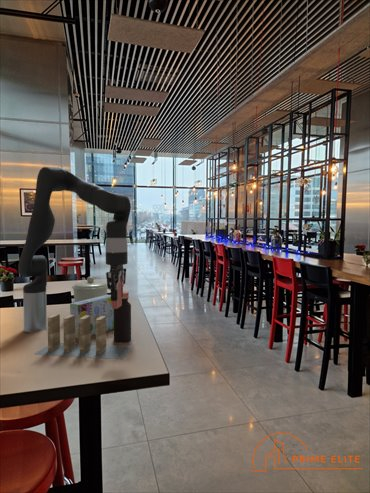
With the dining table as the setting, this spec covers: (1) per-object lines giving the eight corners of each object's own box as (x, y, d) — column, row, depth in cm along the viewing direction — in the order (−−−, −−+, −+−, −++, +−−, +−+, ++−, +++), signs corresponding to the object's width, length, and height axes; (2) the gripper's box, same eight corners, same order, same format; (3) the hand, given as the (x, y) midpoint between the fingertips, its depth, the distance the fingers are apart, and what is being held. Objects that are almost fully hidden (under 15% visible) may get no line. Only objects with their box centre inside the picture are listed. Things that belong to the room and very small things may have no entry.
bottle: (123, 346, 119) (122, 294, 118) (110, 343, 123) (109, 292, 122) (134, 341, 125) (134, 291, 124) (121, 338, 128) (121, 290, 128)
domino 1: (48, 350, 112) (47, 317, 111) (55, 345, 117) (55, 314, 116) (52, 351, 112) (52, 317, 111) (60, 346, 117) (59, 314, 116)
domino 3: (79, 352, 110) (79, 319, 110) (86, 347, 115) (85, 315, 115) (84, 352, 110) (84, 319, 110) (90, 347, 115) (90, 315, 115)
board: (34, 356, 109) (34, 354, 109) (53, 344, 121) (53, 342, 121) (122, 362, 105) (122, 359, 105) (133, 349, 116) (133, 346, 116)
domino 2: (63, 351, 111) (63, 318, 111) (70, 346, 116) (70, 314, 116) (68, 352, 111) (68, 318, 110) (75, 347, 116) (74, 314, 115)
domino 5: (111, 308, 108) (111, 274, 108) (117, 305, 113) (116, 272, 113) (116, 308, 108) (116, 274, 107) (121, 305, 113) (121, 272, 112)
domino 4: (95, 353, 109) (95, 319, 109) (101, 348, 114) (101, 316, 114) (100, 353, 109) (100, 319, 109) (106, 348, 114) (106, 316, 114)
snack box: (107, 326, 146) (107, 294, 145) (116, 328, 143) (116, 295, 142) (70, 339, 127) (69, 302, 127) (79, 341, 125) (79, 304, 124)
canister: (113, 313, 169) (113, 274, 168) (101, 323, 151) (100, 279, 150) (81, 312, 170) (81, 274, 170) (65, 321, 152) (64, 278, 152)
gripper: (113, 249, 117) (114, 294, 118) (98, 251, 103) (98, 303, 104) (133, 249, 116) (133, 295, 117) (119, 252, 102) (120, 303, 103)
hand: (116, 298), depth 110 cm, fingers closed on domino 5, 5 cm apart
